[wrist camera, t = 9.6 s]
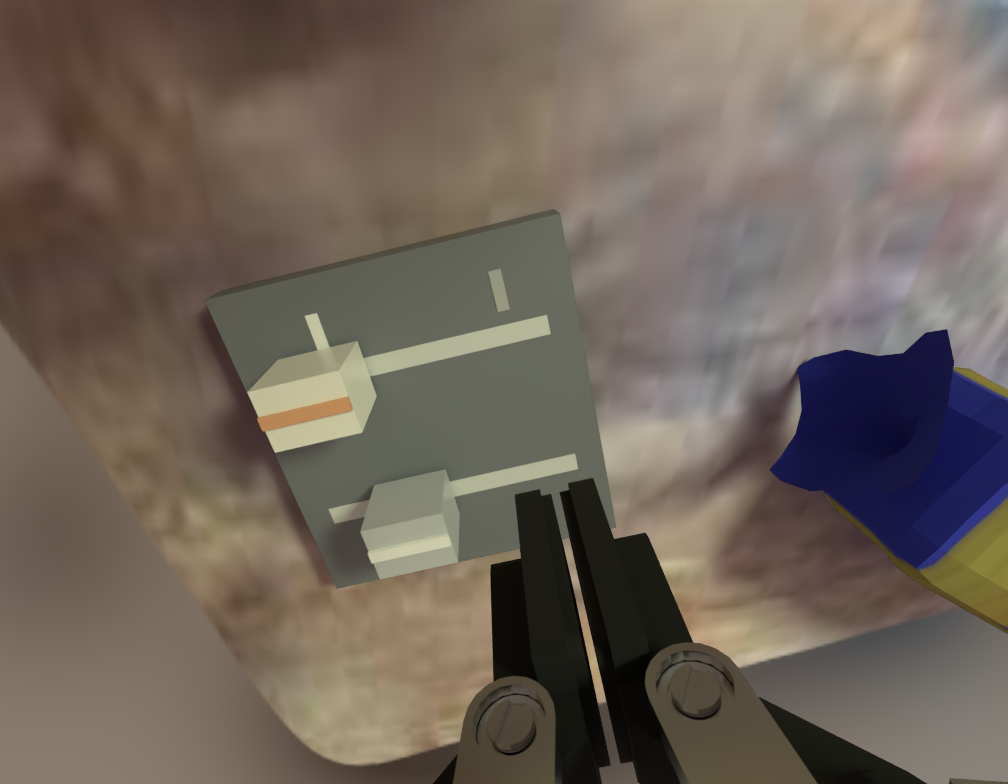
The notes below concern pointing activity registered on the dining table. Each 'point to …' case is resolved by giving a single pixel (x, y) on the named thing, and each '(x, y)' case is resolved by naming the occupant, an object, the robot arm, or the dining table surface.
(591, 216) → the dining table surface
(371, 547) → the fader
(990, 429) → the bread
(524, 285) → the console
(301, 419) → the fader
